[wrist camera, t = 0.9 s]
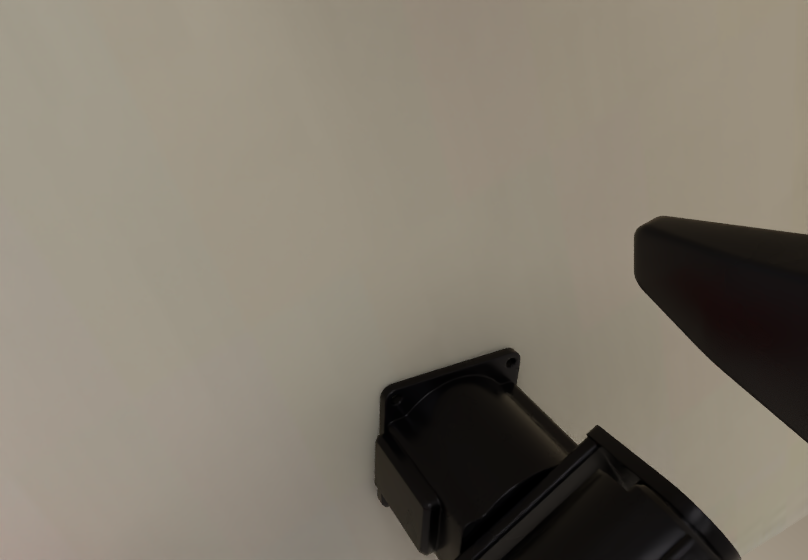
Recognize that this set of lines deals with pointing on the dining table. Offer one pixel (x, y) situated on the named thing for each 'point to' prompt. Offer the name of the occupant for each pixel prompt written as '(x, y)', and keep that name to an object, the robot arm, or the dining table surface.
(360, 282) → the dining table surface
